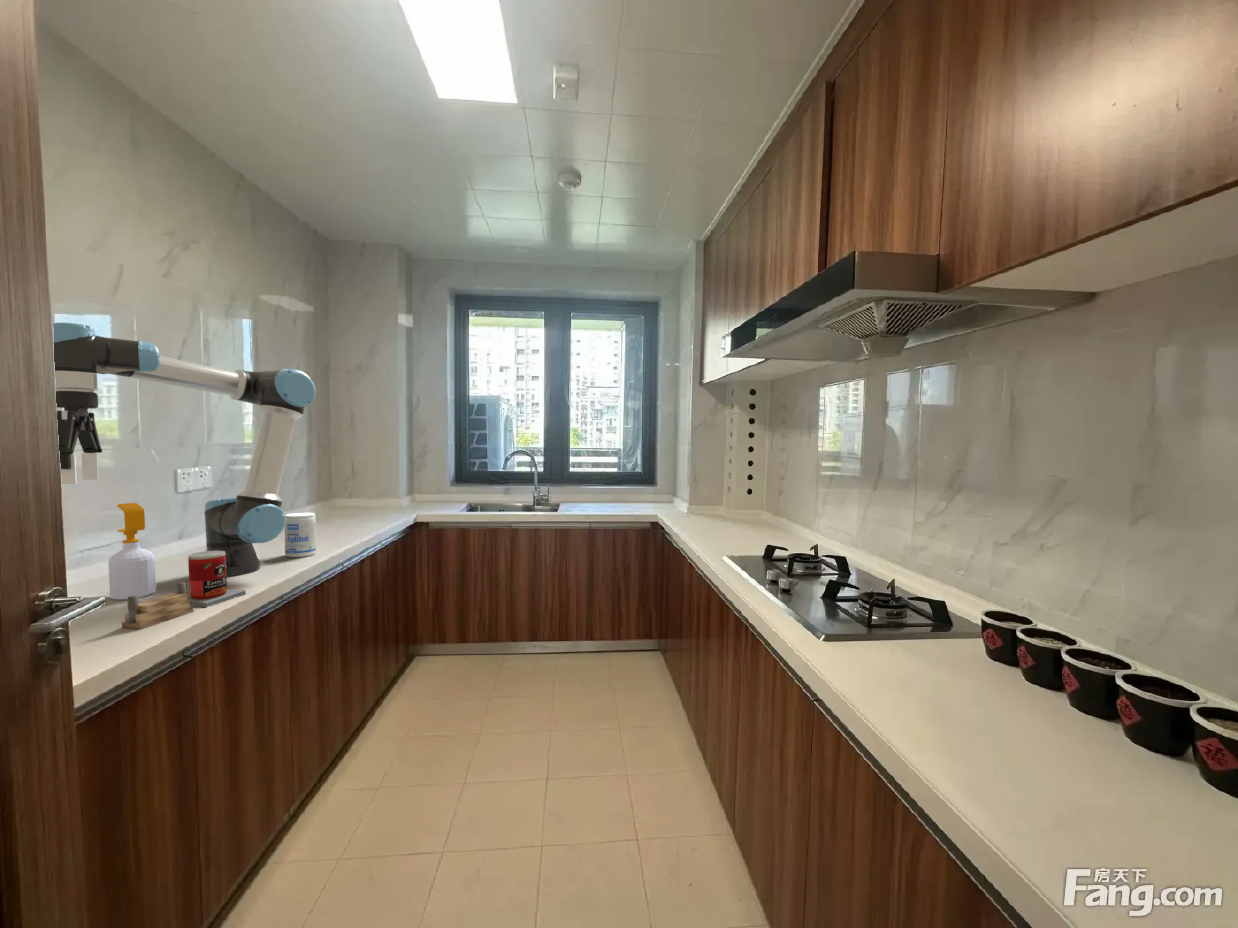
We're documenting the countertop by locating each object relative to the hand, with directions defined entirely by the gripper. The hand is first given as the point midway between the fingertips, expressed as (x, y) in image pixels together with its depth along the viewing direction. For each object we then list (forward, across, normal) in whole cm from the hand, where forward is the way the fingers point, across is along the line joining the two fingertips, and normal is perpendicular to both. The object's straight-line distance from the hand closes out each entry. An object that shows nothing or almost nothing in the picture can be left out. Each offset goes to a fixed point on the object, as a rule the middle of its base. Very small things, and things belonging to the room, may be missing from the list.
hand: (80, 481), depth 125 cm
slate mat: (+32, 0, +23) cm, 39 cm away
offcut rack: (+32, +14, +16) cm, 38 cm away
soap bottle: (+32, -14, +5) cm, 35 cm away
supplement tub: (+32, -48, +43) cm, 72 cm away
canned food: (+31, 0, +23) cm, 39 cm away
